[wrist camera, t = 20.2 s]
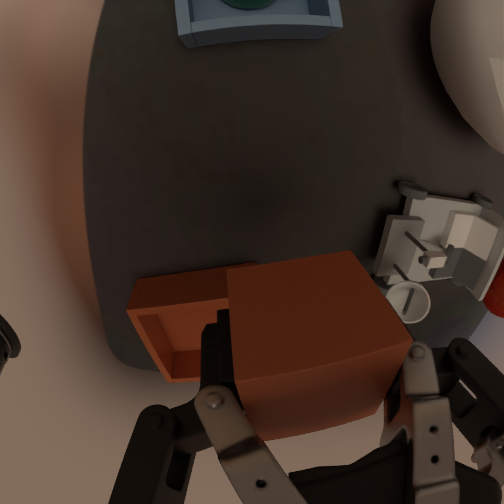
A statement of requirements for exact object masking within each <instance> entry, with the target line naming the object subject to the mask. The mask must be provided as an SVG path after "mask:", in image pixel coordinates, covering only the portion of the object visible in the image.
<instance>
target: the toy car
mask: <svg viewBox="0 0 504 504" xmlns="http://www.w3.org/2000/svg"><path fill="white" fill-rule="evenodd" d="M397 191H398V192H399V193H401V194H402V195H404V196H407V198H406V203H405V207H404V211H403V215H387V219H386V223H385V227H384V231H383V234H382V238H381V242H380V246H379V249H378V253H377V256H376V260H375V263H374V266H373V270H372V271H373V272H374V274H375V275H376V276H374V278H373V281H374V283H375V284H376V285H377V287H378V288H379V290H380V291H381V292H382V294H383V295H384V296H386V298H387V299H388V300H389V302H390V303H391V305H392V306H393V309H395V311H396V312H397V313H398V316H400V318H401V319H402V321H403V322H404V323H416V322H418V321H420V320H422V319H423V318H424V317H425V316H426V315H427V314H428V312H429V309H430V298H429V295H428V293H427V291H426V290H425V288H424V287H423V286H422V285H421V284H420V283H418V282H420V281H429V280H438V279H446V278H447V280H448V281H449V282H451V283H452V284H454V285H457V286H462V285H463V284H464V285H465V287H466V288H467V289H468V290H469V291H470V292H471V293H472V294H473V295H474V297H475V298H476V299H477V300H478V301H480V300H483V298H484V296H485V294H486V292H487V290H488V288H489V286H490V284H491V282H492V280H493V278H494V276H495V274H496V272H497V270H498V267H499V265H500V263H501V260H502V258H503V256H504V218H503V217H502V216H500V215H499V214H497V213H496V212H495V211H493V210H492V208H493V204H494V203H493V202H492V201H491V200H490V199H488V198H486V197H484V196H482V195H479V194H476V193H474V194H473V197H472V201H468V200H462V199H455V198H449V197H442V196H435V195H428V194H427V193H428V191H427V190H426V189H425V188H424V187H422V186H420V185H417V184H414V183H411V182H407V181H400V182H398V187H397Z"/></svg>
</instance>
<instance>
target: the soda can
mask: <svg viewBox="0 0 504 504" xmlns="http://www.w3.org/2000/svg"><path fill="white" fill-rule="evenodd" d="M223 1H224V2H226V3H228V4H229V5H232V6H235V7H238V8H244V9H256V8H262V7H265V6H268V5H270V4H272V3H274V2H275V1H276V0H223Z"/></svg>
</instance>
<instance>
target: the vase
mask: <svg viewBox="0 0 504 504" xmlns="http://www.w3.org/2000/svg"><path fill="white" fill-rule="evenodd" d="M430 43H431V49H432V55H433V59H434V62H435V65H436V68H437V71H438V75H439V77H440V79H441V81H442V83H443V85H444V87H445V90H446V91H447V93H448V95H449V96H450V98H451V99H452V101H453V102H454V104H455V105H456V107H457V109H458V110H459V112H460V113H461V115H462V117H463V118H464V119H465V120H466V121H467V122H468V123H469V124H470V125H471V127H472V128H473V129H474V130H475V131H476V132H477V133H478V134H479V135H480V136H482V137H483V138H484V139H485V140H486V141H487V143H488V144H489V145H490V146H491V147H492V148H493V149H495V150H497V151H498V152H500V153H502V154H503V155H504V0H436V1H435V4H434V8H433V12H432V16H431V24H430Z"/></svg>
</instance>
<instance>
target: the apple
mask: <svg viewBox="0 0 504 504" xmlns="http://www.w3.org/2000/svg"><path fill="white" fill-rule="evenodd" d="M483 302H484V304H485V306H486V307H487V309H488V310H489V311H490V312H491V313H492V314H494V315H496V316H499V317H502V318H504V259H503V258H502V260H501V263H500V265H499V267H498V270H497V272H496V274H495V276H494V278H493V280H492V282H491V284H490V286H489V288H488V290H487V292H486V294H485V296H484V298H483Z"/></svg>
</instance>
